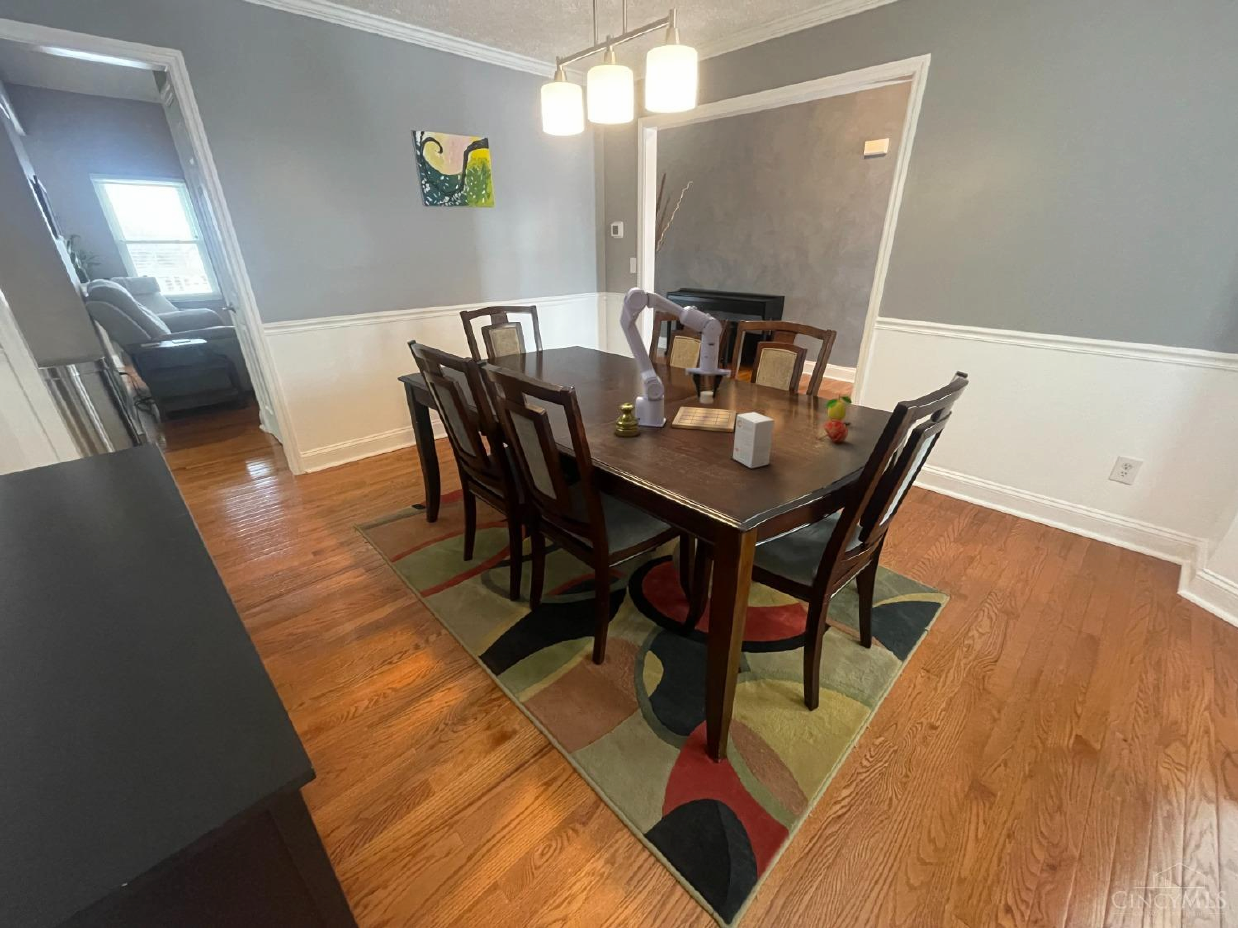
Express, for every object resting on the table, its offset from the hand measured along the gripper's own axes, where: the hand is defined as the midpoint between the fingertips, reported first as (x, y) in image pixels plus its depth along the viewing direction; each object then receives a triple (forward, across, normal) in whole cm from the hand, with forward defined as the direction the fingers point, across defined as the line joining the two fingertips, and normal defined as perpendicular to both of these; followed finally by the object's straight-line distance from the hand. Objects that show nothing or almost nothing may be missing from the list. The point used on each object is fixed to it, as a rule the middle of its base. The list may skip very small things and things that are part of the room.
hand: (706, 397), depth 164 cm
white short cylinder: (+2, 0, 0) cm, 2 cm away
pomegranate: (+9, +40, -9) cm, 42 cm away
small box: (+9, +16, -31) cm, 36 cm away
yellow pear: (+9, +43, +10) cm, 45 cm away
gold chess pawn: (+9, -23, -17) cm, 30 cm away
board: (+9, 0, +2) cm, 9 cm away
